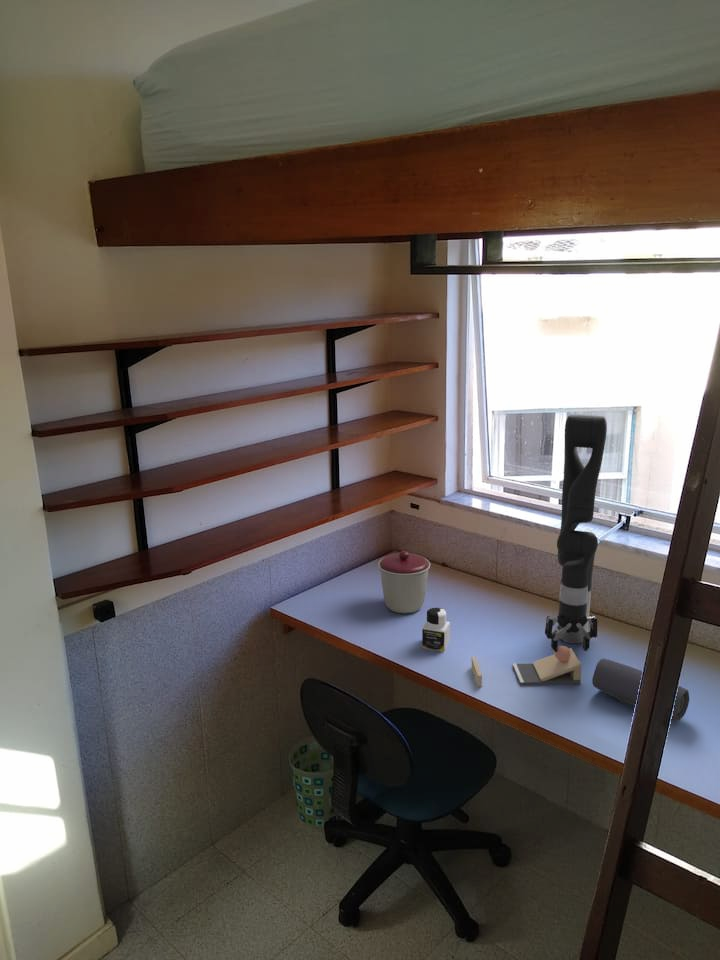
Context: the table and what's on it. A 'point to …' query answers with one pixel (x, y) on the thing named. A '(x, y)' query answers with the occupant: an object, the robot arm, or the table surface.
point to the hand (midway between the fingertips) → (569, 650)
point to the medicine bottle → (436, 630)
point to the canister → (404, 581)
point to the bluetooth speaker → (630, 685)
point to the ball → (562, 653)
